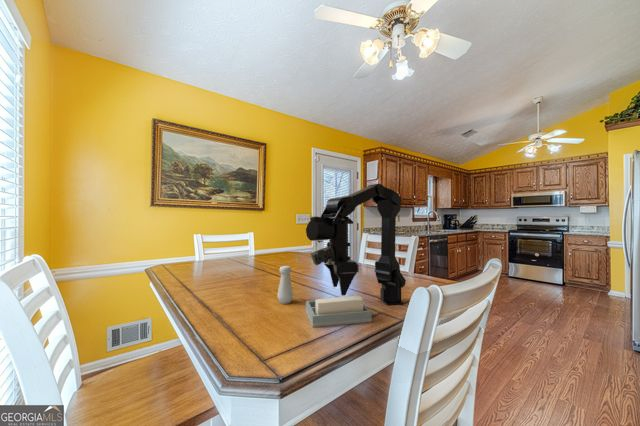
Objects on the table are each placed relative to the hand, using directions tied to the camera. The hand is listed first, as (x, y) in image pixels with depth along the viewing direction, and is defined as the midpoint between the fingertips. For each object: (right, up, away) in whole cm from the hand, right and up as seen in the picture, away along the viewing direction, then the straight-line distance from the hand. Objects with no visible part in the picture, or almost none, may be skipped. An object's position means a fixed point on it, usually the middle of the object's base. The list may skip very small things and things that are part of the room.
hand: (338, 290), depth 76 cm
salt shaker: (-18, -9, +16) cm, 26 cm away
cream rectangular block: (0, -8, 0) cm, 8 cm away
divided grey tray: (-1, -9, +3) cm, 9 cm away
